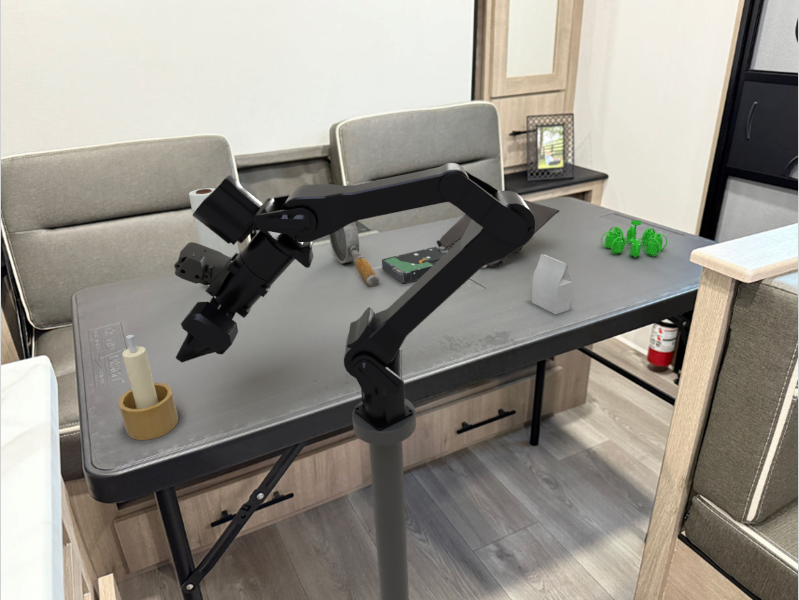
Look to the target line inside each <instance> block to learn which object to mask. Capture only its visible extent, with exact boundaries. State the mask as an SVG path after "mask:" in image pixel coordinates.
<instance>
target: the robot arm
mask: <svg viewBox="0 0 799 600" xmlns="http://www.w3.org/2000/svg"><path fill="white" fill-rule="evenodd" d="M214 189H215V190H214V191H213V192H212V193H211V194H210V195H209V196H208V197H207V198H206V199H204V201H203V202H202V203H201V204H200V205H199V207H198V208H197V209H196V211H195V212H194V213H192V217H193V216H194V217H195V218H196V219H198V220H199V221H200V222H201V223H203V224H204V225H205V226H206V227H208V228H209V229H210V230H212V231H213V232H214V233H215V234H217V235H218V236H219V237H220V238H222V239H223V240H224V241H225V242H227V243H228V244H230V243H232V244H233V245H234V244H235V243H236V242H237V243H239V244H243V242H244V241H246V239H247V238H248V237H249V236H250V234H251V233H252V232H253V231H254V230H255V229H256V228H257V229H258V232H257V233H256V234H255V235H254V236H253V237H252V239H251V240H250V241H249V242H248V243H246V245H245V246H244V248H243V249H242V250H240V251H239V252H236V253H235V254H234V255H233V257H232V258H231V257H228V256H226V255H224V254H222V253H221V252H219V251H216V250H214V249H211V248H208V247H206V246H203V245H200V244H198V242H193V241H192V242H191V241H190V242H187V244H186V245H185V246H184V247H183V248H182V249H181V250H180V252H179V256H178V259H177V261H176V262H175V263H174V264H173V267H174V275H175V276H176V277H178V278H180V279H182V280H183V281H187V282H190V283H193V284H196V285H197V284H200V285H204V286H207V285H209V287H208V286H207V287H206V289H205V292H206V293H207V294H208V295H209V296H211V299H210V300H209V301H197V302H196V304H195V305H193V306H192V308H191V309H190V310H189V311H188V313H187V314H186V316H185V317H184V318H183V320H182V321H181V322H180V326H181V328H182V330H184V331H185V332H186V337H185V339H183V342H182V344H181V346H180V348H179V350H178V351H177V354H176V356H175V359H176V360H177V361H178V362H180V363H185V362H188V361H192V360H194V359H197V358H199V357H200V358H201V357H203V356H207V355H211V354H213V353H215V354H217V355H224V354H225V353H226V351H228V350H229V348H230V347H231V346H232V345H233V343H234V341H235V339H236V337H237V335H238V333H239V327H238V323H237V322H236V321H235V320H234V317H235V316H236V314H237V315H239V316H240V317H242V318H244V319H245V318H246V317H247V316H248V315H249V313H250V312H251V309H252V307H253V306H254V305H255V304H256V303H257V301H258V300H259V299H260V298H261V297H262V298H264V297H265V296H266V295H267V294H268V293H269V291H270V289H271V286H272V285H273V284H274V283H275V282H276V281H277V280H278V278H279V277H280V276H281V275H282V274H283V273H284V272H286V270H287V269H288V268H289V266H290V265H292V263H294V261H297V262H298V263H299V264H301V265H302V266H303V267H304V268H306V269H309V268H310V267H311V265H312V262H313V260H314V251H313V244H314V243H313V242H314V241H316V240H319V239H322V238H325V237H327V236H329V234H332V233H334V232H336V231H338V230H340V229H341V228H343V227H345V226H347V225H348V224H350V223H353V222H355V223H356V222H358V221H362V220H367V219H371V218H372V219H373V218H376V217H377V218H378V217H381V216H385V215H391V214H396V213H400V212H404V211H405V212H406V211H410V210H415V209H420V208H426V207H430V206H434V205H438V204H439V205H440V204H443V203H450V204H451V205H453V206H454V207H456V208H457V209H459V210H460V211H461V212H462V213H464V215H467V216H469V217H470V218H471V219H472V220H471V222H470V224H469V226H468V227H467V229H466V231H465V233H464V235H463V236H462V238H461V239H460V240H459V241H457V242H456V243H454V244H453V245H452V246H451V248H450V249H449V250H448V251H447V252H446V254H445V255H444V256H443V257H442V258H441V259H440V260H439V261H437V262H436V263H435V264H434V265H433V266H432V267H431V268H430V269H429V270H428V271H427V272H426V273H425V274H424V275H423V276H422V277H421V278H420V279H419V280H415V281H414V282H413V284H412V285H411V286H410V287H409V288H407V290H406V291H404V293H403V294H402V295H400V296H399V297H398V298H397V299H396V300H395V301H394V302H393V303H392V304H391V305H390V306H389V307H388V308H385V309H384V310H381V311H379V312H375V311H374V310H373V309H372V308H371V307H370V306H368V307H367V308H366V309H365V311H364V312H363V313H362V315H361V316H360V317H359V318H358V319H356V320H355V321H352V322H350V324H349V328H348V329H349V330H348V334H347V338H346V342H345V343H346V344H345V349H344V355H343V366H344V368H345V371H346V373H348V374H349V375H350V376H351V377H352V378H354V379H356V382H357V383H358V385H359V387H360V395H361V401H362V402H363V404H362V405H360V406H357V407H356V406H355V407H353V410H354V412H355V413H356V414H357V415H359V416H360V417H361V418H362V419H364V420H365V421H366V422H367V423H369V424H370V425H371V426H372V427H374V428H375V429H376V430H377V431H382V430H384V429H386V428H388V427H390V426H392V425H394V424H396V423H398V422H400V421H402V420H404V419H406V418H408V417H410V416H412V415H413V414H414V410H412V409H411V408H410V407H408V406H407V405H405V399H406V397H405V395H406V393H405V381H404V380H403V350H402V349H401V347H402V345H403V344H404V342H405V340H406V338H407V337H408V336H409V335H410V334H411V333H412V332H413V331H414V330H415V329H416V328H418V326H420V325H421V324H422V323H423V322H424V321H425V320H427V318H428V317H430V315H432V313H434V312H435V311H436V310H437V309H438V308H439V307H440V306H441V305H443V304H444V302H445V301H447V300H448V299H449V298H450V297H451V296H452V295H453V294H454V293H456V292H457V291H458V290H459V289H460V288H461V287H462V286H463V285H464V284H465V283H466V282H468V281H469V280H470V279H471V278H472V277H473V276H474V275H475V274H476V273H477V272H478V271H479V270H481V269H483V268H482V267H483V266H485V265H487V264H490V263H492V262H495V261H498V260H501V259H503V258H504V259H506V258H507V257H508V256H510V255H512V254H513V253H515V252H517V251H518V249H519V248H521V247H522V246H523V247H524V246H525V245H527V244H528V243H529V242H530V241H531V240H532V239H533V237H534V235H535V234H536V233H535V219H534V215H533V214H532V212H531V211H530V209H529V208H528V206H527V205H526V203H525V202H524V200H525V199H524V198H523V197H522V196H521V195H519V194H518V193H517V192H515V191H512V190H499V189H497V187H494V186H493V185H492V184H490V183H488V182H487V181H485V180H483V179H481V178H479V177H478V176H476V175H474V174H472V173H470V171H467V170H466V169H465V168H464V167H463V166H461V165H460V164H458V163H455V162H448V163H445V164H443V165H441V166H438V167H434V168H429V169H424V170H419V171H415V172H409V173H406V174H401V175H395V176H391V177H386V178H383V179H377V180H372V181H368V182H363V183H359V184H351V185H348V184H347V185H343V184H333V183H315V184H302V185H300V186H297V187H295V188H294V189H293V190H292V191H291V192H290V194H285V195H279V196H274V197H268V198H265V199H264V201H263V202H262V201H260V200H259V199H257V198H256V197H255V196H254V195H253V194H251V193H250V192H249V191H248V190H247V189H246V188H244V187H243V186H242V185H241V183H240V182H239V181H238V180H237V179H236V178H235V177H233V176H232V175H231V174H229V175H227V176H226V177H224V179H222V181H221V183H219V184H218V186H217V187H216V188H214ZM534 233H535V234H534ZM523 247H522V248H523ZM505 257H506V258H505ZM504 259H503V260H504Z"/></svg>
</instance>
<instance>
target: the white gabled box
mask: <svg viewBox="0 0 799 600" xmlns="http://www.w3.org/2000/svg"><path fill="white" fill-rule="evenodd" d="M531 286H532V287H531V288H532V289H531V304H534V305H536V306H538V307H540V308H541V309H544V310H545V311H548V312H550V313H552V314H554V315H559V314H562V313H565V312H567V311H570V307H571V299H572V298H571V297H572V287H573V280H572V278H571V273H570V270H569V265H568V263H567V262H564V261H561V260H559V259H557V258H554V257H551V256H549V255H546V254H544V253H541V254H540V257H539V260H538V263H537V265H536V267H535V270H534V272H533V275H532V285H531Z"/></svg>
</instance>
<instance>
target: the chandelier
mask: <svg viewBox="0 0 799 600" xmlns="http://www.w3.org/2000/svg"><path fill="white" fill-rule="evenodd" d="M641 225H642V221H641V220H631V221H630V226H629V228H628V229H627V232H626V237H625V236H624V232H623V229H622V228H620V227H619V226H615V225H614V226H612V227H611V228H609V230H608V231H606V232H604V233H602V235H601V237H600V243H601V245H602V246H603V248H606V249H610V252H611V253H612V254H613V255H620V254H621V253H622V252H623V250H624V249H625V246H626V245H627V244H631V246H630V252H629V254H630V256H632V257H633V258H634V259H637V258H638V257H639V256H640V255H641V251H642V250H641V249H642V246H641V245H643V249H644V251H645V254H647V256H649V257H656V256H658V255H659V254H660V253H661V251H663V250H664V249H665V248H666V247H667V245H668V238H667V236H666V235H664V234H662V233H656V230H655V229H654V228H653V227H648V228H646V229H645V230H644V232H643V233H642V236H641V237H640V238H637V226H641ZM605 235H606V236H605ZM604 236H605V241H604V243H603V237H604ZM663 237H664V238H665V243H664V244H665V245H663V241H664V240H663Z"/></svg>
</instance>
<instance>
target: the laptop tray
mask: <svg viewBox="0 0 799 600" xmlns="http://www.w3.org/2000/svg"><path fill="white" fill-rule="evenodd" d="M523 200H524V202H525V203H526V205H527V206H528V208H529V209H530V211H531V212H532V214H533V215H534V219H535V233H534V235H535V234H536V233H537V232H538V231H539V230H541V228H543V227H544V226H545V225H546V224H547V223H548V222H549V221H550V220H551V219H552V218H553V217H554V216H555V215H557V214H558V213H560V209H556V208H554V207H550V206H548V205H547V206H546V205H543V204H540V203H537V202H533V201H529V200H526V199H523ZM471 220H472V219H471V218H470V217H469V216H467V215H466V214H464V215H463V216H462V217H461V218H460V219H459V220H458V221H457V222H456V223H454V224H453V225H452V226H451V227H450V228H449V229H448V230H447V231H446V232H445V233H444V234H443V235H442V236H441V237H440V239H438V240H436V244H437V247H439V248H438V249H440V251H443V250H445V249H447V248H450V247H452V246H454V245H455V244H456V243H457V242H459V240H460V239H461V238H462V236H463V235H464V233H465V231H466V229H467V227H468V226H469V224H470V222H471ZM523 248H524V246H522V247H521V248H519V249H518V250H517V251H518V252H519V251H521V250H522V249H523ZM506 258H507V257H505V258H503V259H501V260H498V261H495V262H492V263H490V264H487V265H485V266H483V267H482V268H481V269H485V268H487V267H488V266H496V267H498V266H500V265H503V264H504V259H506Z"/></svg>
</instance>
